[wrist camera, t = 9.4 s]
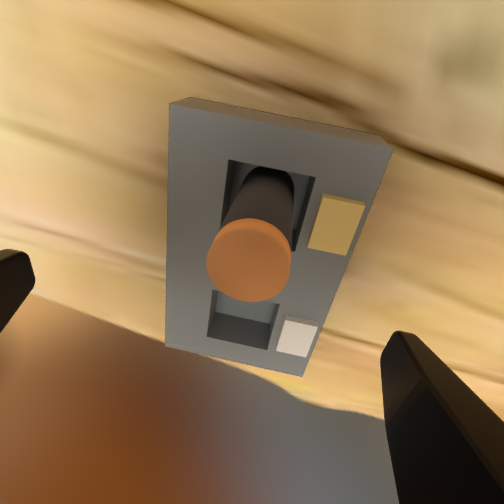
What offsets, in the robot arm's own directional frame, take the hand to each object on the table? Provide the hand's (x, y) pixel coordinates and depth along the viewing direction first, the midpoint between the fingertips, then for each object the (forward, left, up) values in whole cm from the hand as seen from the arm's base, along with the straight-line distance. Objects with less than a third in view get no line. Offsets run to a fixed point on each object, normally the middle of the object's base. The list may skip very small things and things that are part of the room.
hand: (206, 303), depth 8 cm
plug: (-1, +1, -11) cm, 11 cm away
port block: (-1, +5, -12) cm, 13 cm away
